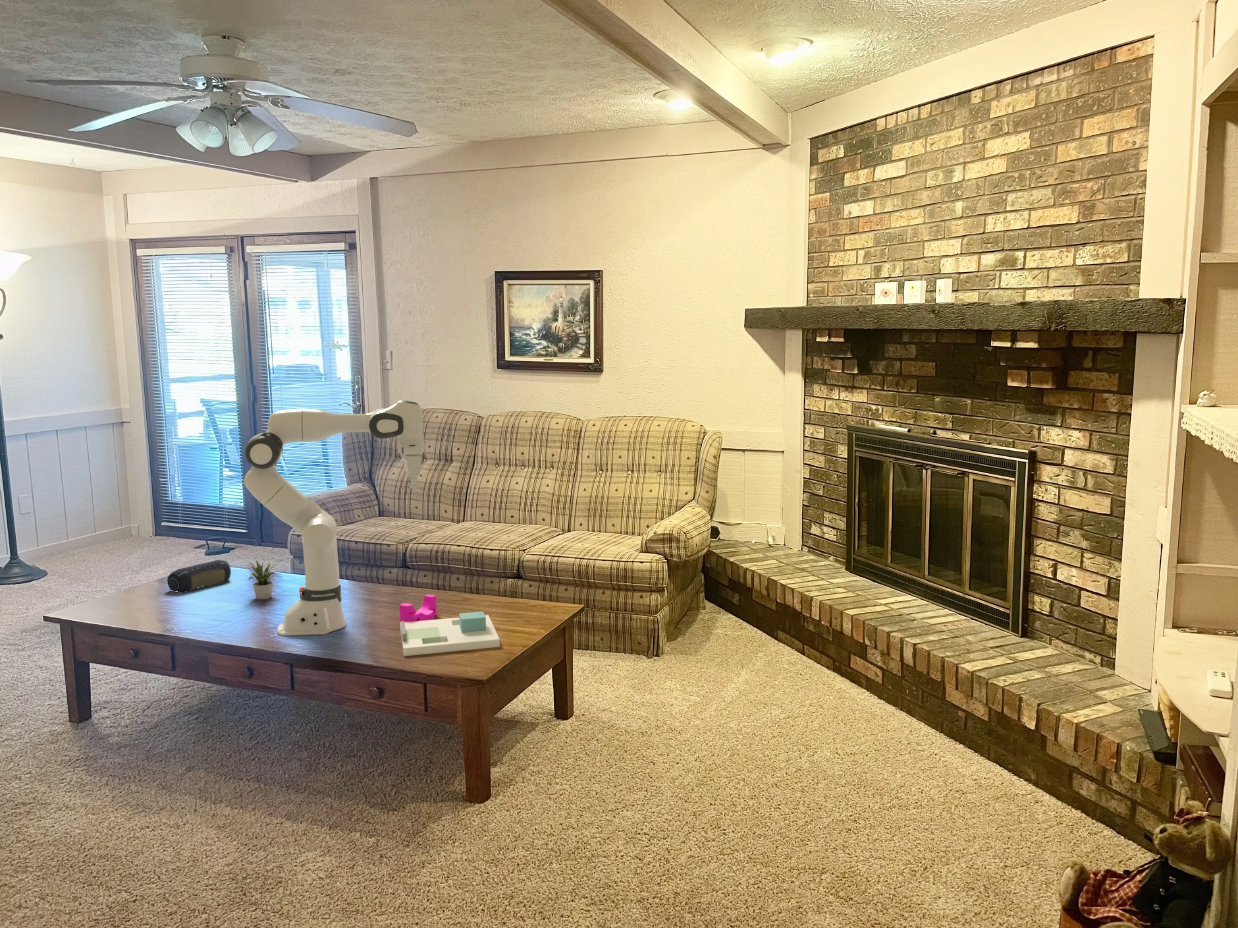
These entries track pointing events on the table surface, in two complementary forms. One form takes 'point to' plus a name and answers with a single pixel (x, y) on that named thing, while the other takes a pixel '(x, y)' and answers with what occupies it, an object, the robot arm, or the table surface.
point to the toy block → (423, 613)
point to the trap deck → (444, 637)
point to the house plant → (262, 581)
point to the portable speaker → (199, 576)
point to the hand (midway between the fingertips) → (412, 486)
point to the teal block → (472, 622)
